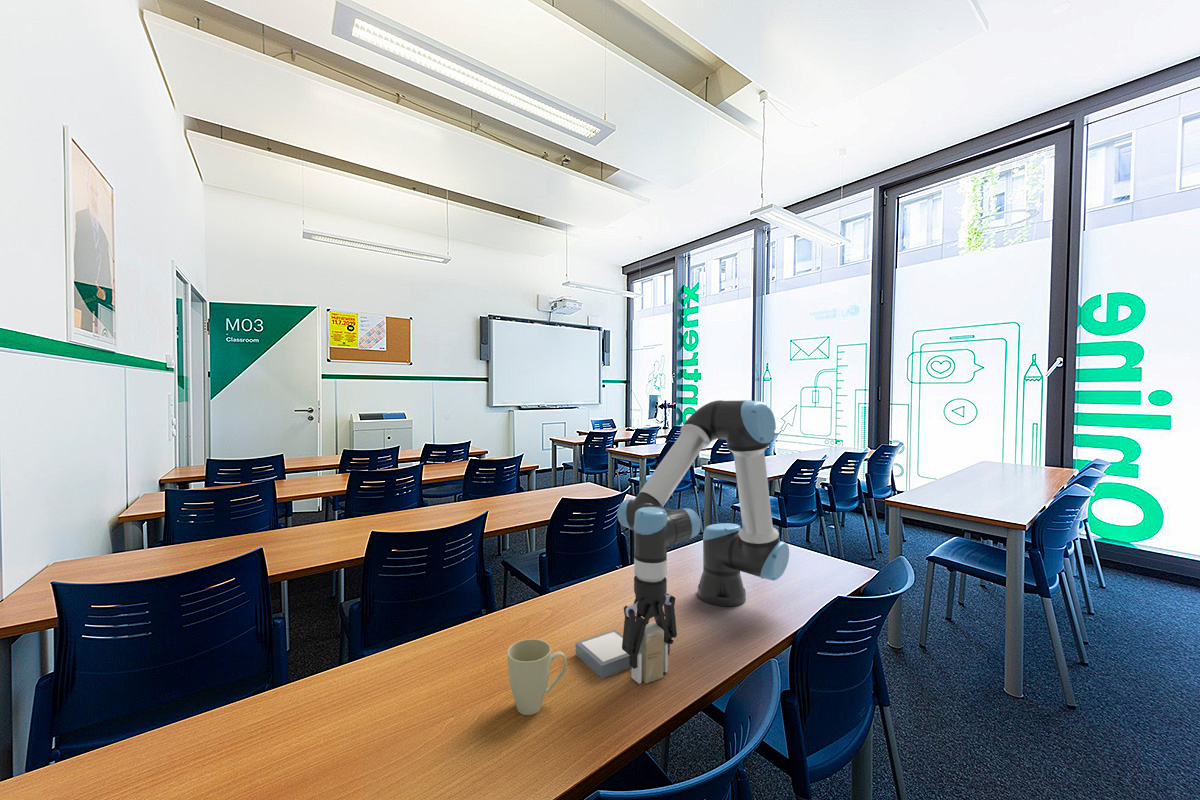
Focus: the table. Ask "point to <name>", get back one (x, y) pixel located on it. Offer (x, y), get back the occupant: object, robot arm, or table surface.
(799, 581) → the table surface
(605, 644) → the pedestal
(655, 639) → the box
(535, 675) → the mug
